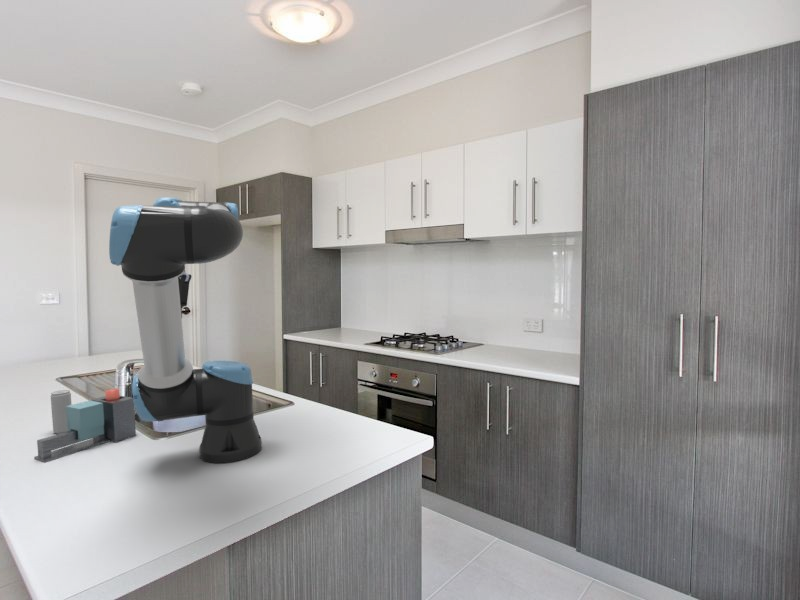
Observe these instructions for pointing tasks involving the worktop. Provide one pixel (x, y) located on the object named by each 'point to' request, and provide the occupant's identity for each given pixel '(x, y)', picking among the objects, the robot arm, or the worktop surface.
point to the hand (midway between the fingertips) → (176, 330)
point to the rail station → (115, 429)
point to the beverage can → (60, 410)
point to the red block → (112, 394)
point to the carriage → (86, 419)
